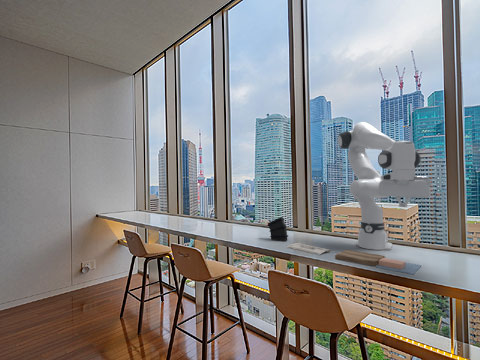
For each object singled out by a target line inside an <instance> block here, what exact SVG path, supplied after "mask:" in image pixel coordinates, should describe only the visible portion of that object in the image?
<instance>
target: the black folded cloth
mask: <svg viewBox="0 0 480 360" xmlns="http://www.w3.org/2000/svg"><path fill="white" fill-rule="evenodd" d="M267 227H268V228H269V233H270V236H269V237H270V239H271V240H272V241H279V242H287V241H288V237H289V234H288V230H287V225H286V223H285V218H284V217H283V216H280V217H278V218H276V219H274V220H272V221H269V222H267Z"/></svg>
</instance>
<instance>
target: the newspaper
mask: <svg viewBox="0 0 480 360" xmlns="http://www.w3.org/2000/svg"><path fill="white" fill-rule="evenodd" d="M286 248H287V249H291V250H295V251H300V252H305V253H308V254H309V253H310V254H313V253H314V254H315V255H317V254H319V256H321V254H324V253H331V252H332V249H328V248H323V247H319V246H316V245H309V244H305V243H300V242H294V243H292V244H289V245H287V246H286ZM325 251H326V252H325ZM314 254H313V255H314Z"/></svg>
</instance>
